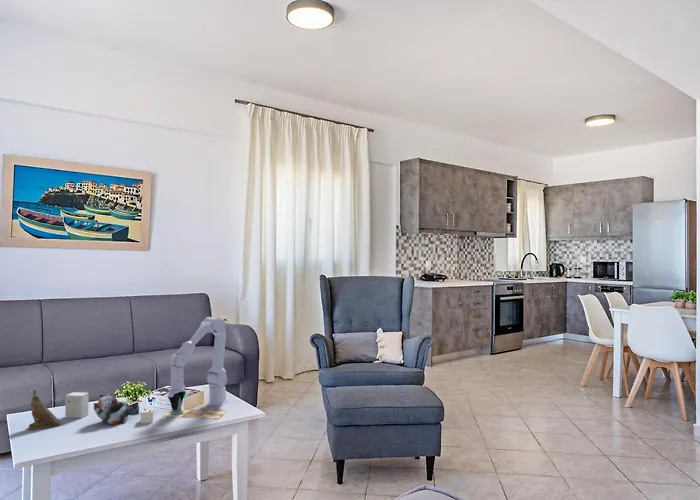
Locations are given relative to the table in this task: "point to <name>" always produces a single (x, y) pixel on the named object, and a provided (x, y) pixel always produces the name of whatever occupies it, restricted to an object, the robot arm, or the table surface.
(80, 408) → the small box
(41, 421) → the brown carved statuette
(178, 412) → the pawn
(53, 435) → the table surface
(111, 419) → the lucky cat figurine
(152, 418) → the cream block
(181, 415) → the game board
